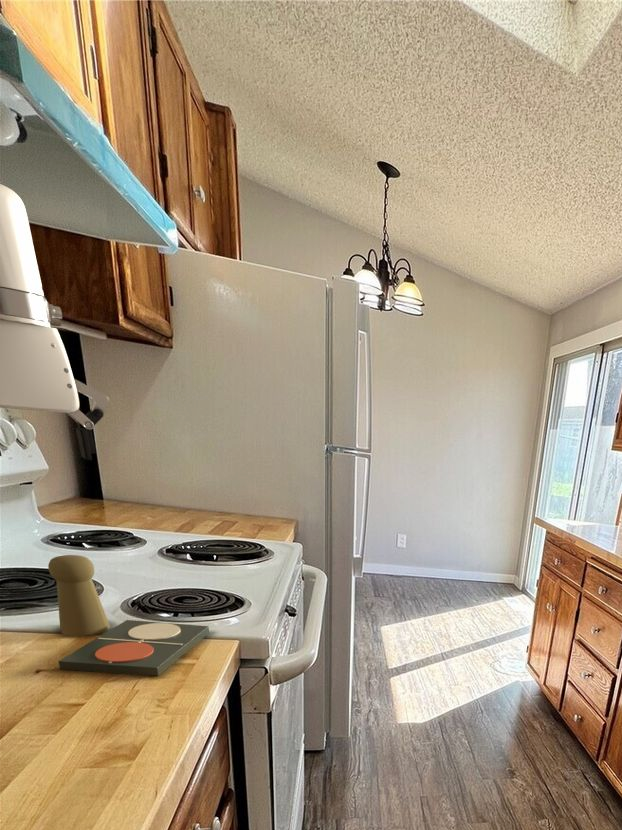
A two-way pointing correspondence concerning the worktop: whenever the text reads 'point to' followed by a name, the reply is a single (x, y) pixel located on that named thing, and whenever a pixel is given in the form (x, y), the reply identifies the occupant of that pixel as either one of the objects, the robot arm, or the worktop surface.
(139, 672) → the board
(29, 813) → the worktop surface
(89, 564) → the cork
